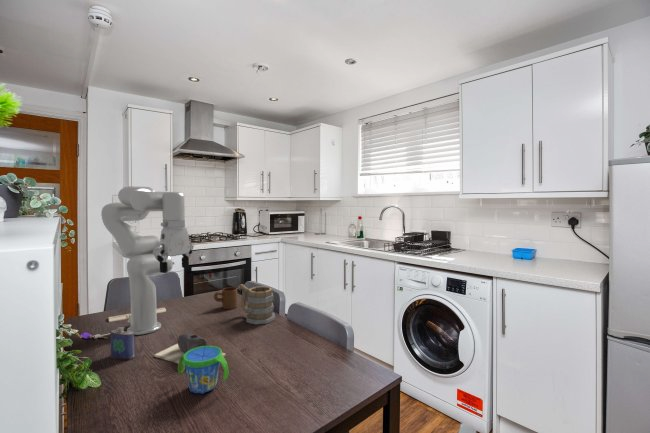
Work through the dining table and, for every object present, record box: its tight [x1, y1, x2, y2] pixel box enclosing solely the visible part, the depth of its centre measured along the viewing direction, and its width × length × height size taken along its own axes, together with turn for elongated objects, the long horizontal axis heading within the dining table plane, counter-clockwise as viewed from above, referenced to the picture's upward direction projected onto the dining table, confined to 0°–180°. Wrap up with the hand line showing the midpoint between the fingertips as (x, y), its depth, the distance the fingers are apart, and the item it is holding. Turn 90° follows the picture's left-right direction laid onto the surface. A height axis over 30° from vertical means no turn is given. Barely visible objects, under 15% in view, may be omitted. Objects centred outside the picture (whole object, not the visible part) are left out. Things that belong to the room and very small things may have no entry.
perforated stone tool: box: [177, 332, 208, 353], centre depth 115 cm, size 15×5×7 cm, turn 51°
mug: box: [213, 286, 238, 310], centre depth 166 cm, size 12×8×9 cm, turn 132°
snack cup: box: [177, 345, 230, 395], centre depth 95 cm, size 16×10×10 cm
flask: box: [110, 326, 135, 361], centre depth 114 cm, size 9×3×11 cm, turn 74°
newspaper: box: [108, 307, 167, 323], centre depth 156 cm, size 24×7×2 cm, turn 126°
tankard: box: [237, 283, 276, 325], centre depth 152 cm, size 20×13×15 cm, turn 58°
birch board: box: [154, 343, 226, 365], centre depth 115 cm, size 22×11×1 cm, turn 65°
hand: (175, 270), depth 124 cm, fingers open, 9 cm apart
